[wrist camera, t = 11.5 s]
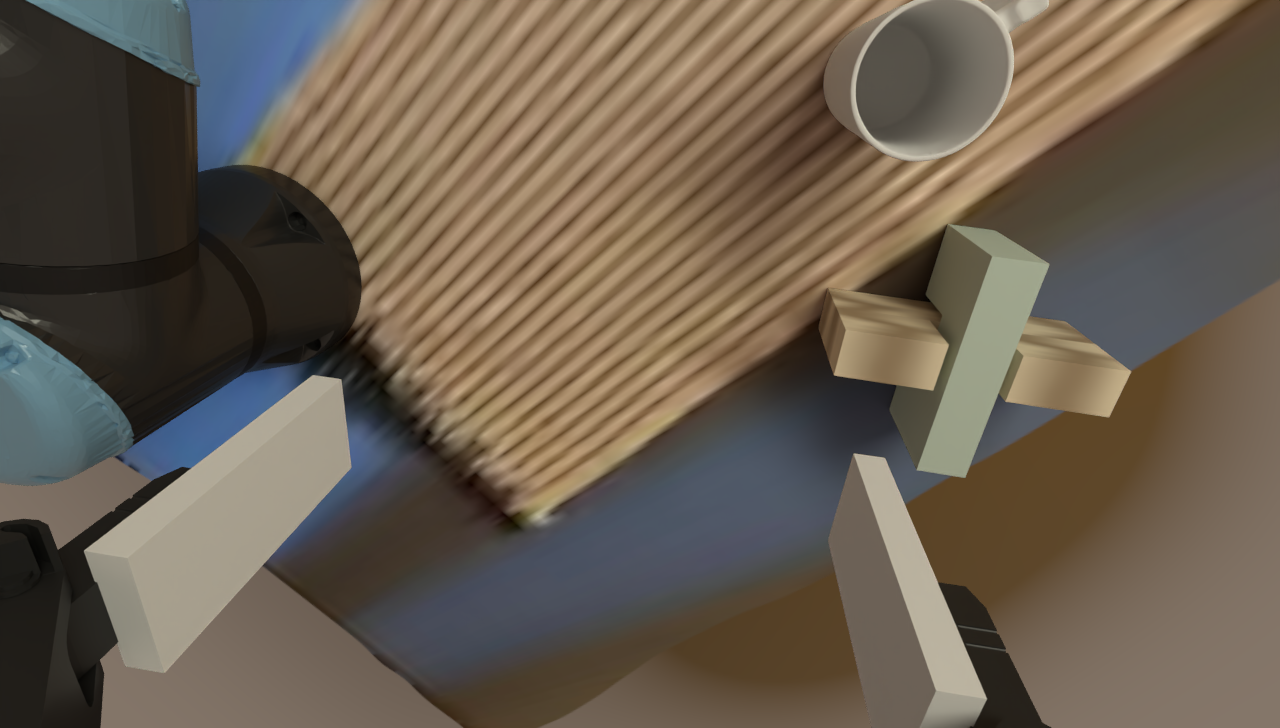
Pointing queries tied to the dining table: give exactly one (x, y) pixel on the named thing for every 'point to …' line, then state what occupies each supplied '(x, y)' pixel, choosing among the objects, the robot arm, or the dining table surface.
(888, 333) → the u-shaped wooden block
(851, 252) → the dining table surface
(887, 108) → the mug
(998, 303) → the grey-green block
